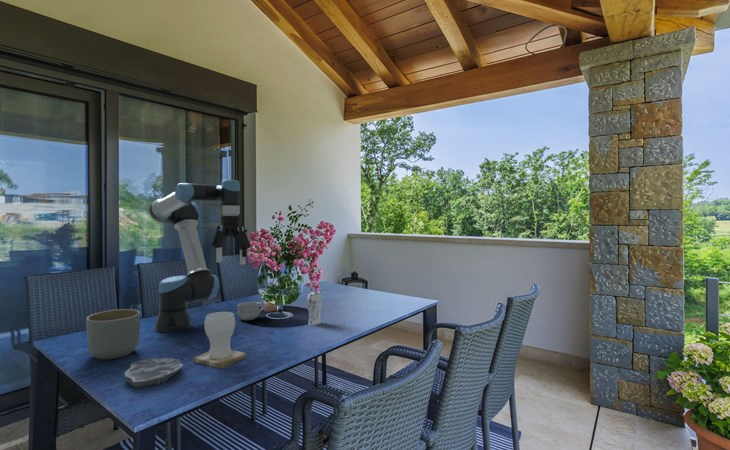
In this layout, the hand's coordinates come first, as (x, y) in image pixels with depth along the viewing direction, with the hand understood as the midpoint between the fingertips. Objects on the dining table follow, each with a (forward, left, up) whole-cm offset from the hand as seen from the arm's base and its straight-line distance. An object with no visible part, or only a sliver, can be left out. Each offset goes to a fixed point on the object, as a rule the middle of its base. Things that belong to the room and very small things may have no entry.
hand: (230, 263), depth 170 cm
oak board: (+18, -24, -32) cm, 43 cm away
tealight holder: (-10, +41, -32) cm, 53 cm away
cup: (+18, -24, -30) cm, 42 cm away
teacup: (-8, +23, -32) cm, 40 cm away
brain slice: (+9, -44, -32) cm, 55 cm away
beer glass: (+25, +30, -32) cm, 50 cm away
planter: (-21, -38, -32) cm, 54 cm away
